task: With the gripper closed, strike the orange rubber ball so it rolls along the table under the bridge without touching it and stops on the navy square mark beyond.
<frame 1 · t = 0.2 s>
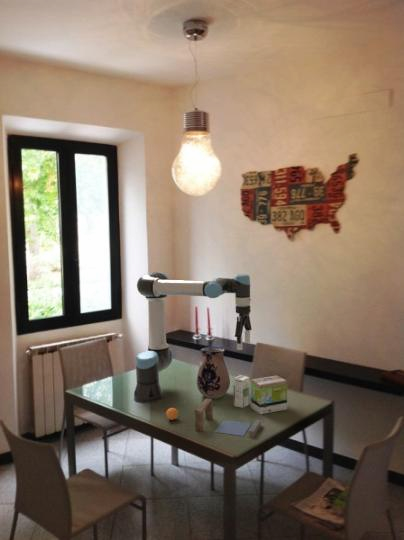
hand: (243, 346, 249), 28 cm above the table, tool pointing down, fingers open, 13 cm apart
stopper: (255, 431, 214), on the table
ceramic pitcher: (214, 394, 259), on the table
bridge: (204, 423, 223), on the table
ball: (172, 413, 229), on the table
tea box: (269, 409, 238), on the table
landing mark: (233, 428, 218), on the table
syrup box: (241, 405, 244), on the table
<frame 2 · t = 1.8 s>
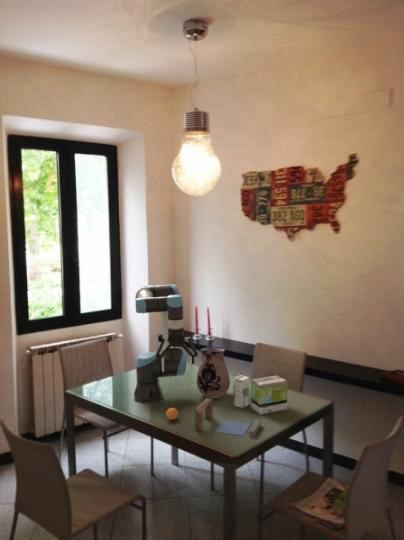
hand: (177, 370, 235), 21 cm above the table, tool pointing down, fingers open, 13 cm apart
nothing on the table moved.
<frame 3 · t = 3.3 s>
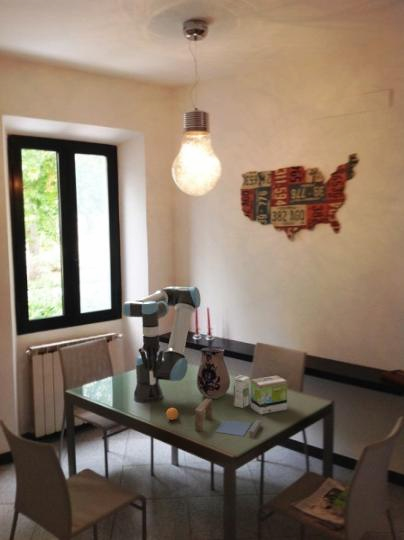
hand: (152, 383, 231), 16 cm above the table, tool pointing down, fingers closed
nothing on the table moved.
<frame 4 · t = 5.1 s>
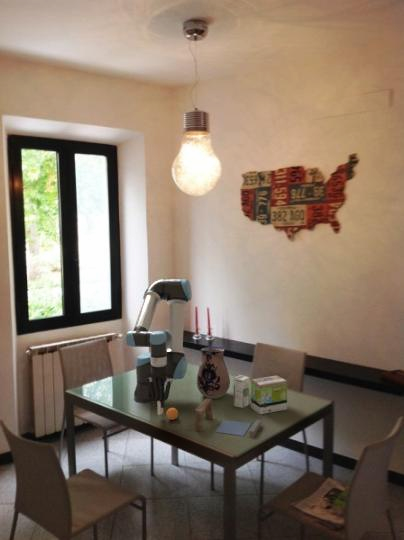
hand: (160, 413, 230), 2 cm above the table, tool pointing down, fingers closed
nothing on the table moved.
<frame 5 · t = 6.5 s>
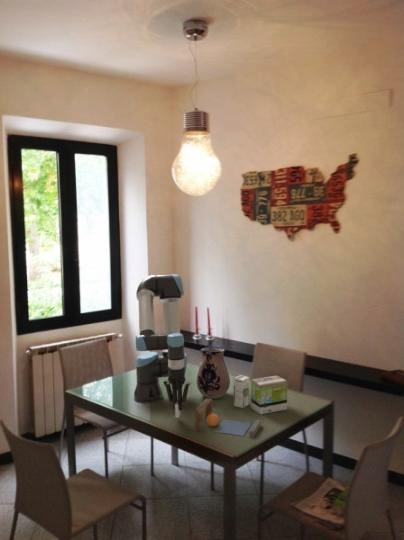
hand: (178, 416, 228), 2 cm above the table, tool pointing down, fingers closed
ball: (212, 420, 221), on the table
everything else where it was.
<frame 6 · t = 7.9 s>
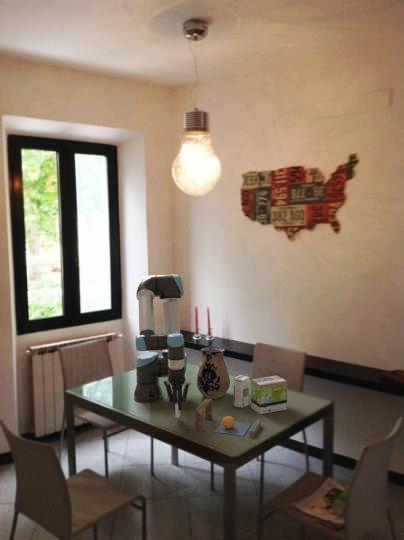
hand: (178, 416, 228), 2 cm above the table, tool pointing down, fingers closed
ball: (228, 422, 218), on the table
everything else where it was.
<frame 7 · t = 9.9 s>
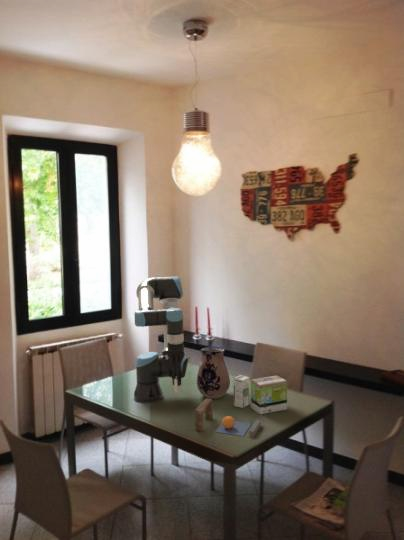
hand: (177, 391, 227), 14 cm above the table, tool pointing down, fingers closed
nothing on the table moved.
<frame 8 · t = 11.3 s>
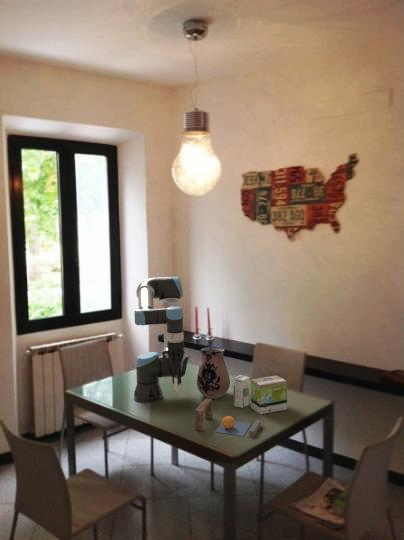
hand: (177, 390, 226), 14 cm above the table, tool pointing down, fingers closed
nothing on the table moved.
at the end: ball 2.2 cm from the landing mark (horizontally); ball never touched bridge; ball at rest at the end (0.0 cm/s) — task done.
